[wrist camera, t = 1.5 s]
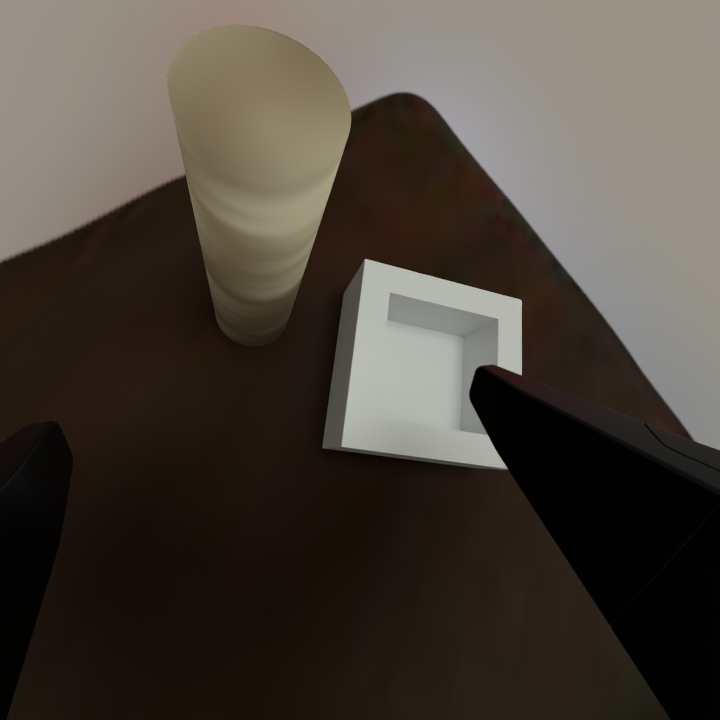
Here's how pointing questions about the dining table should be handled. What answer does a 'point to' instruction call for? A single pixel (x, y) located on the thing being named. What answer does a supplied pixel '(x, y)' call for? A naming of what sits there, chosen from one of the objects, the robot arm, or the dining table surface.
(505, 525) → the dining table surface
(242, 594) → the dining table surface
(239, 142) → the dowel
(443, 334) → the end cap
